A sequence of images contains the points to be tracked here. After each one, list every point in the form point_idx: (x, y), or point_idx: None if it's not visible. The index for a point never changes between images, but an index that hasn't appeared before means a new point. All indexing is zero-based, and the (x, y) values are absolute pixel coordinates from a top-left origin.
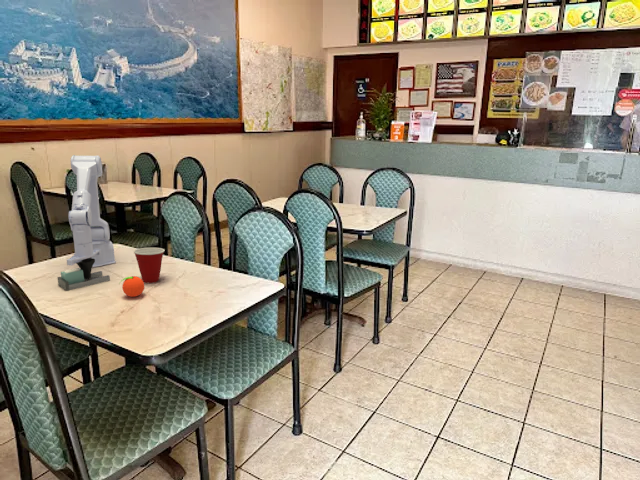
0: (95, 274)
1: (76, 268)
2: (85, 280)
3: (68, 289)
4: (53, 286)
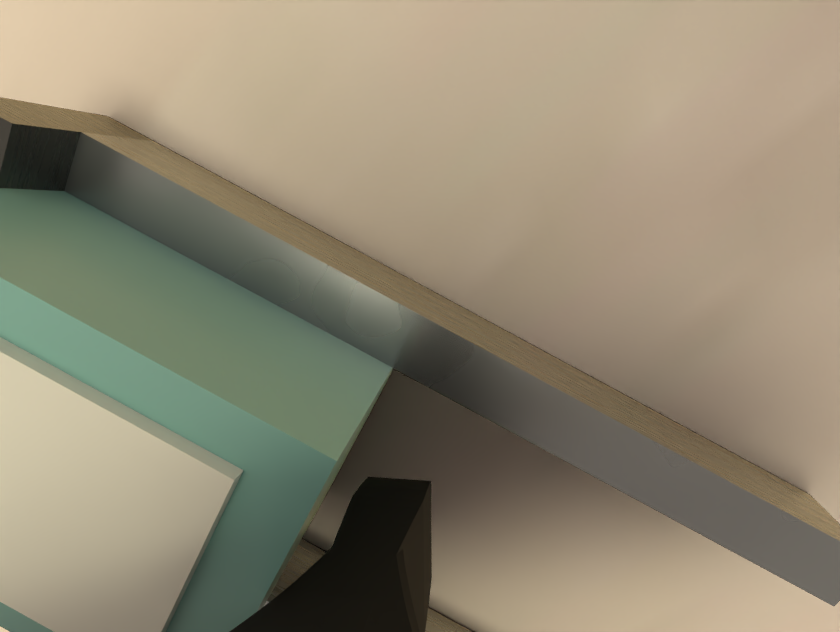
0: (685, 511)
1: (222, 481)
2: None
3: None
4: (33, 79)
